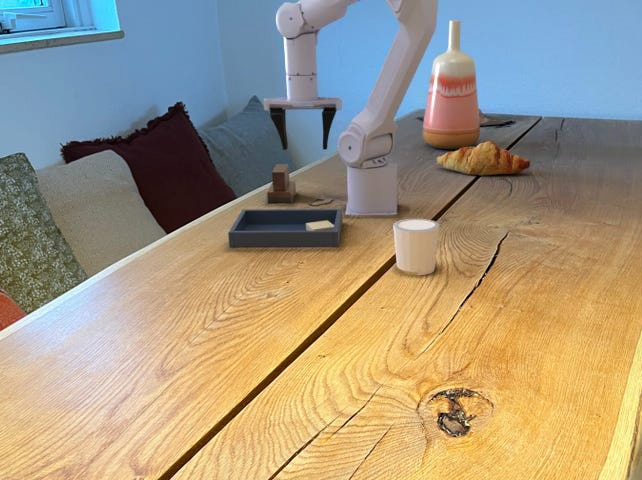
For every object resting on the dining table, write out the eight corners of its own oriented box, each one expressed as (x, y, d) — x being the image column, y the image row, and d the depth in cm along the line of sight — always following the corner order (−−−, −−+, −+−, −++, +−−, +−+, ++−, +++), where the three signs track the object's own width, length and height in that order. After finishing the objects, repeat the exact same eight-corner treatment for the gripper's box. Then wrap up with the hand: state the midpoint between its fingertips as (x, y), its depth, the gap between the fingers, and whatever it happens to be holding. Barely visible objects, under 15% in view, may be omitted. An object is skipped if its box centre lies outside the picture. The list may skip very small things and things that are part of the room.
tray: (342, 225, 141) (342, 208, 139) (338, 250, 128) (337, 231, 127) (243, 226, 141) (241, 209, 139) (229, 250, 128) (228, 232, 127)
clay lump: (327, 226, 138) (327, 220, 137) (336, 233, 135) (335, 226, 134) (306, 229, 137) (305, 223, 136) (313, 236, 133) (313, 229, 133)
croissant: (433, 186, 179) (428, 158, 173) (443, 157, 185) (439, 128, 179) (527, 191, 173) (526, 162, 167) (534, 160, 179) (533, 131, 172)
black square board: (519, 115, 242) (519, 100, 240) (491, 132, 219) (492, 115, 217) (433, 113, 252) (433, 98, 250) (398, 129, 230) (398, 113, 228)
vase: (488, 144, 204) (495, 19, 191) (462, 154, 194) (467, 22, 180) (439, 139, 211) (442, 18, 198) (411, 148, 201) (412, 21, 187)
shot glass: (443, 264, 122) (445, 219, 119) (431, 279, 116) (432, 232, 113) (401, 259, 124) (401, 216, 121) (387, 274, 118) (386, 228, 115)
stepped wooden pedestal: (296, 193, 161) (294, 162, 158) (291, 205, 153) (289, 173, 150) (273, 193, 161) (271, 163, 158) (267, 205, 153) (265, 173, 150)
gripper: (341, 71, 150) (343, 144, 156) (265, 71, 150) (270, 144, 156) (339, 75, 144) (342, 151, 150) (259, 76, 144) (265, 152, 150)
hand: (305, 148), depth 153 cm, fingers open, 7 cm apart
